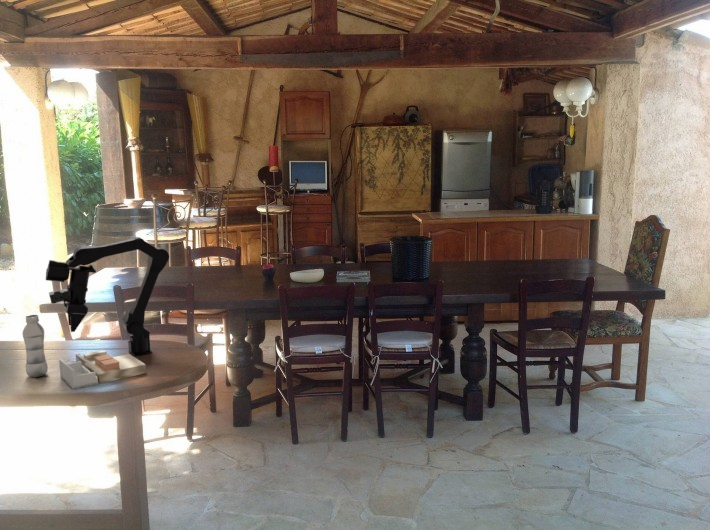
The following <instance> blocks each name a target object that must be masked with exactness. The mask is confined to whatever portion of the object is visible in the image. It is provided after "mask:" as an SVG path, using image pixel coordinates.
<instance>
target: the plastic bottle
mask: <svg viewBox="0 0 710 530" xmlns="http://www.w3.org/2000/svg"><path fill="white" fill-rule="evenodd" d="M39 322H40V319H39V315H38V314H28V315H26V316H25V323H26V325H25V326H24V328H23V329H22V337H23V342H24V345H25V353H26V354H25V356H26V359H25V362H26V363H25V372H26V375H27V376H28V377H30V378H38V377H42V376H45V375H46V374H47V372H48V368H49V366H48V362H47V359H46V358H47V357H46V355H45V329H44V327H43V325H41V324H40V323H39Z"/></svg>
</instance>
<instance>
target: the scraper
mask: <svg viewBox="0 0 710 530" xmlns="http://www.w3.org/2000/svg"><path fill="white" fill-rule="evenodd" d="M107 353H108V352H107V351H106V349H101V350H98V351H91V352H87V353H83V355H82V354H81V353H75V362H78V361H81V362H82V366H84V363H88V362H92V361H95V358H94V357H98V356H103V355H108V354H107Z"/></svg>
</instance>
